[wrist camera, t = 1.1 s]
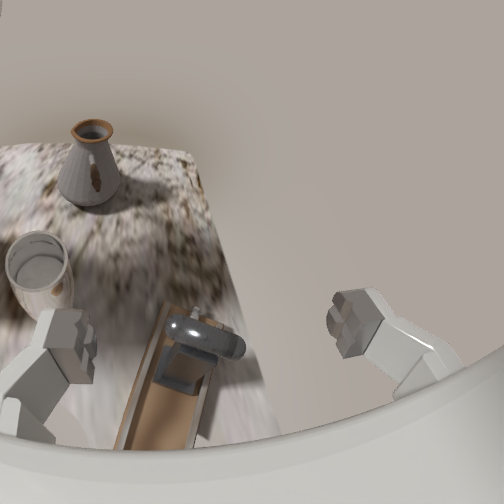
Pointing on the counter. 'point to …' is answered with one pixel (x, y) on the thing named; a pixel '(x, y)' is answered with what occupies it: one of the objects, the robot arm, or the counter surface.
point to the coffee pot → (89, 165)
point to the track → (162, 399)
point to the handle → (193, 351)
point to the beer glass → (40, 273)
